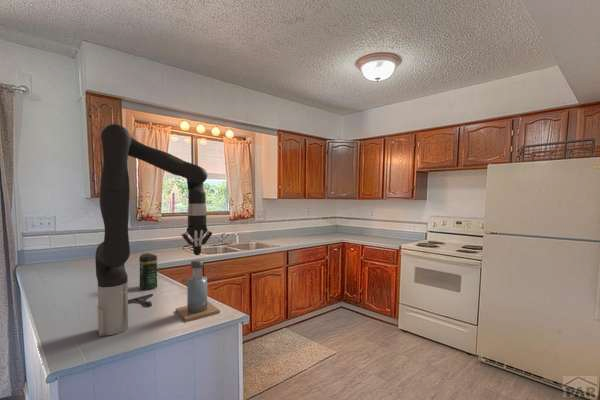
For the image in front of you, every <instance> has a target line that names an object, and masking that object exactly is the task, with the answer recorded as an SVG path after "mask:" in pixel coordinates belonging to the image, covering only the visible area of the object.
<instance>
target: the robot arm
mask: <svg viewBox="0 0 600 400" xmlns="http://www.w3.org/2000/svg"><path fill="white" fill-rule="evenodd" d="M100 140H101V144H102V153H103V155H102V156H103V157H102V158H103V165H102V171H101V176H100V184H99V208H100V214H101V218H102V221H103V225H104V238H103V241H102V242H100V244H98V246H97V248H96V250H95V254H94V255H95V276H96V280H97V306H96V307H97V309H96V310H97V333H98V337H104V336H113V335H117V334H119V333H122V332H124V331H126V330H127V329H128V328H129V304H128V300H129V299H128V298H129V297H128V296H129V295H128V294H129V290H128V287H129V285H128V284H129V283H128V273H127V272H126V268H125V264H126V263H127V261H128V260H129V257H130V256H131V255H130V254H131V248H130V237H129V218H130V197H131V196H130V194H131V193H130V176H129V168H128V160H129V157H132V158H134V159H137V160H140V161H142V162H145V163H147V164H149V165H150V166H151V165H152V166H154V167H156V168H158V169H160V170H162V171H164V172H167V173H170V174H172V175H174V176H178V177H182V178H184V179H186V185H187V191H188V193H187V194H188V197H187V199H188V200H187V201H188V202H187V203H188V204H187V228H186V231H185V232H184V233H182V234H181V235H180V236H181V237H182V238H183V239H184V241H186V243H187V244H188V245H189V246H192V248H193V249H192V250H193V251H192V253H193V255H194V256H200V255H201V253H202V246H203V245H206V244H207V242H208V241H209V239H210V238H211V237H212V235H213V232H212V231H210V230H208V226H207V205H206V203H207V202H206V199H207V198H206V196H207V195H206V191H205V189H204V183H205V182H206V181H207V179H208V172H207V171H206V169H204V168H203V167H201V166H199V165H197V164H194V163H193V162H192V163H191V162H189V161H186V160H183V159H182V158H179V157H177V156H175V155H173V154H171V153H169V152H166V151H164V150H160V149H158V148H157V149H156V148H155V147H151V146H149V145H145V144H143V143H142V142H140V141H138V140H136V139H135V138H133V137H132V136H131V134H130V132H129V130H127V128H125V127H124V126H122V125H120V124H117V123H112V124H110V125H107V126H105V127H104V128H103V129H102V131H101V134H100ZM189 237H190V238H191V239H190V238H189Z"/></svg>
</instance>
